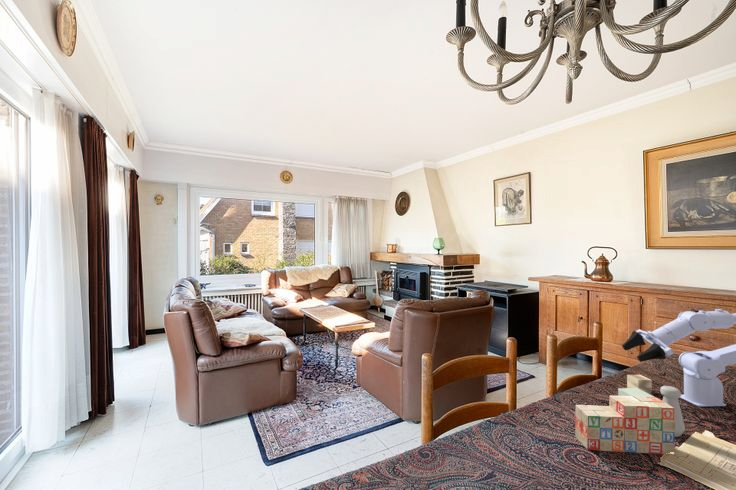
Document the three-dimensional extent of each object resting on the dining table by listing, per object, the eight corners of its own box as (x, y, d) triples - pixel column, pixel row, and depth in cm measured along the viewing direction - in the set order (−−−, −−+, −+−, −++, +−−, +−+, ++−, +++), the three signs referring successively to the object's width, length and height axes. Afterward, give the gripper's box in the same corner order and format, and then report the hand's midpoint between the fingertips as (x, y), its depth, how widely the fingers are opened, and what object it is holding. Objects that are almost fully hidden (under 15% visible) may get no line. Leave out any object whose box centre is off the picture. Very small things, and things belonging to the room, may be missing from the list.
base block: (637, 396, 118) (637, 387, 118) (655, 405, 111) (655, 396, 111) (618, 396, 118) (618, 388, 118) (634, 406, 111) (634, 397, 111)
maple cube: (640, 387, 125) (639, 374, 125) (651, 393, 120) (651, 379, 120) (627, 388, 125) (627, 374, 125) (638, 394, 120) (638, 380, 120)
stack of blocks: (587, 450, 88) (586, 404, 88) (575, 437, 94) (574, 393, 94) (675, 455, 86) (675, 407, 86) (657, 440, 92) (656, 396, 92)
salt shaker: (678, 429, 97) (677, 384, 97) (689, 440, 92) (689, 393, 92) (653, 426, 99) (653, 382, 99) (663, 436, 94) (663, 390, 94)
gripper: (647, 316, 122) (612, 335, 125) (680, 335, 108) (640, 355, 111) (656, 331, 123) (621, 349, 126) (690, 351, 109) (650, 371, 112)
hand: (630, 353), depth 118 cm, fingers open, 7 cm apart
